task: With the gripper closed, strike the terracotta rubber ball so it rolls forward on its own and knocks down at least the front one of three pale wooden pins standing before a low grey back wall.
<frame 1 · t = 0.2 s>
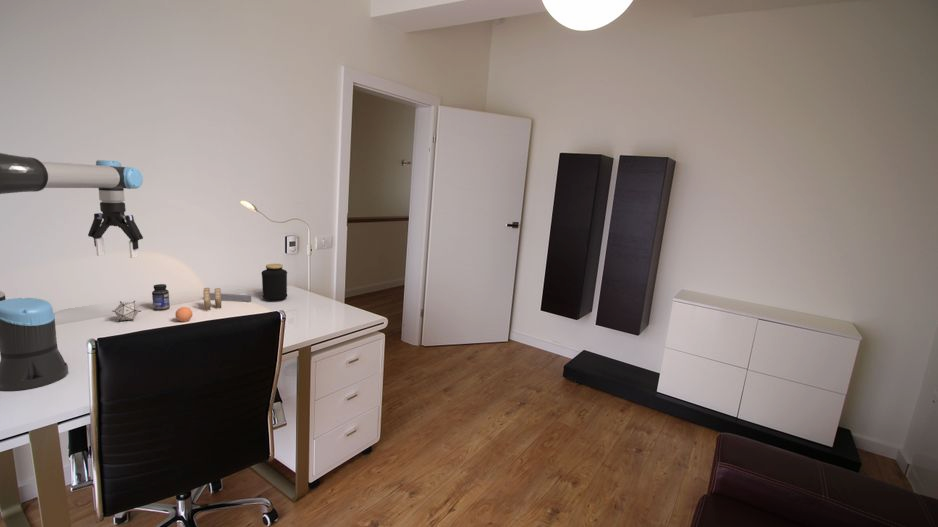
hand: (117, 256, 171), 28 cm above the table, tool pointing down, fingers open, 13 cm apart
game die: (127, 320, 180), on the table
pin right: (218, 307, 202), on the table
ball: (184, 314, 182), on the table
pill bottle: (161, 309, 196), on the table
pin front: (207, 310, 198), on the table
container: (275, 299, 221), on the table
back wall: (228, 300, 215), on the table
pin left: (207, 307, 202), on the table
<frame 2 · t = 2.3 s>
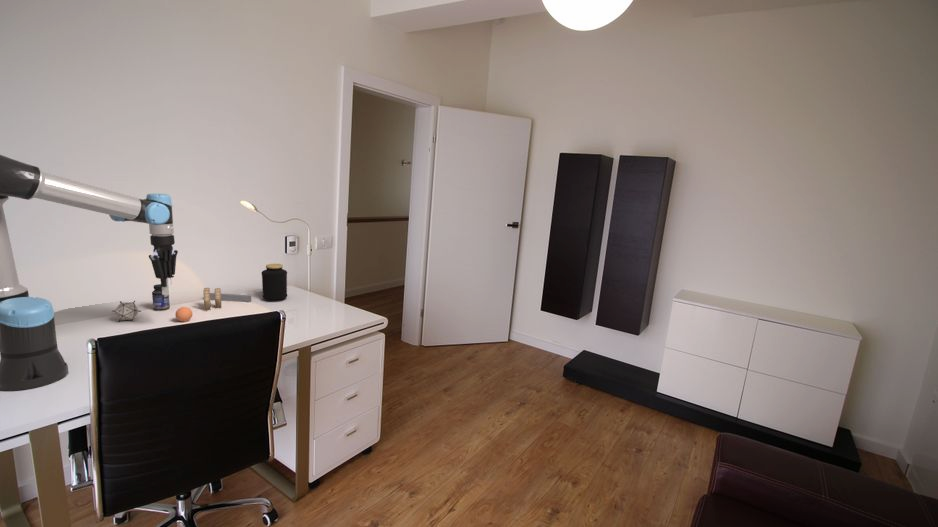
hand: (167, 294, 171), 14 cm above the table, tool pointing down, fingers closed
nothing on the table moved.
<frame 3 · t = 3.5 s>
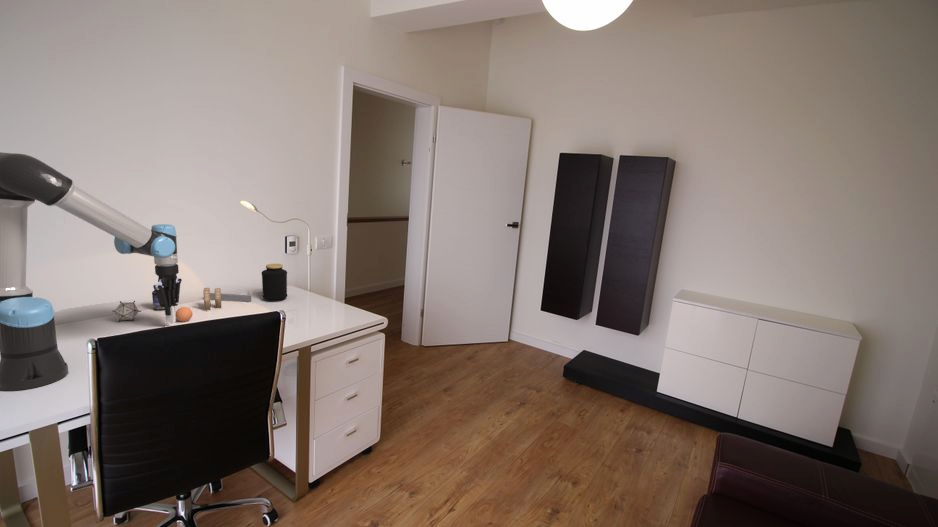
hand: (171, 322, 174), 2 cm above the table, tool pointing down, fingers closed
nothing on the table moved.
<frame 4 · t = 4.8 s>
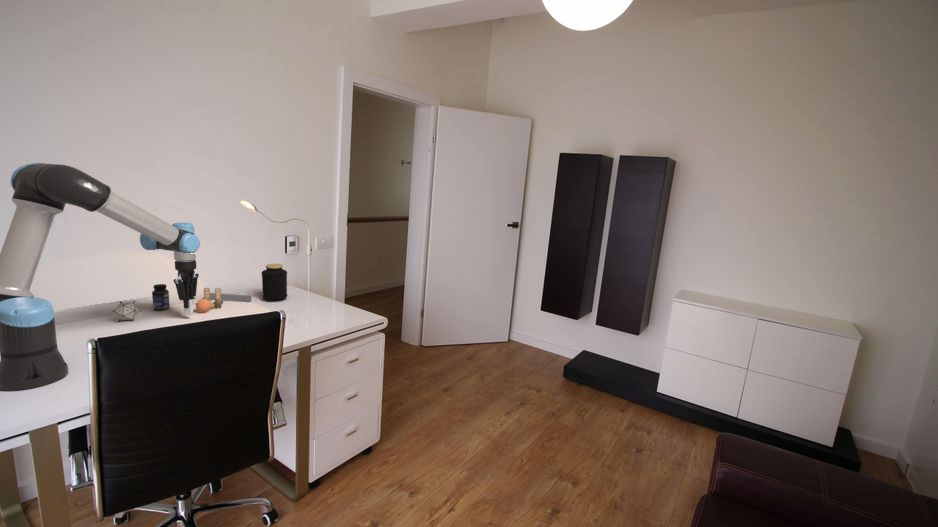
hand: (188, 314, 185), 2 cm above the table, tool pointing down, fingers closed
ball: (203, 305, 195), on the table
pin front: (210, 306, 200), point 1 cm above the table, tilted 90°
everything else where it was.
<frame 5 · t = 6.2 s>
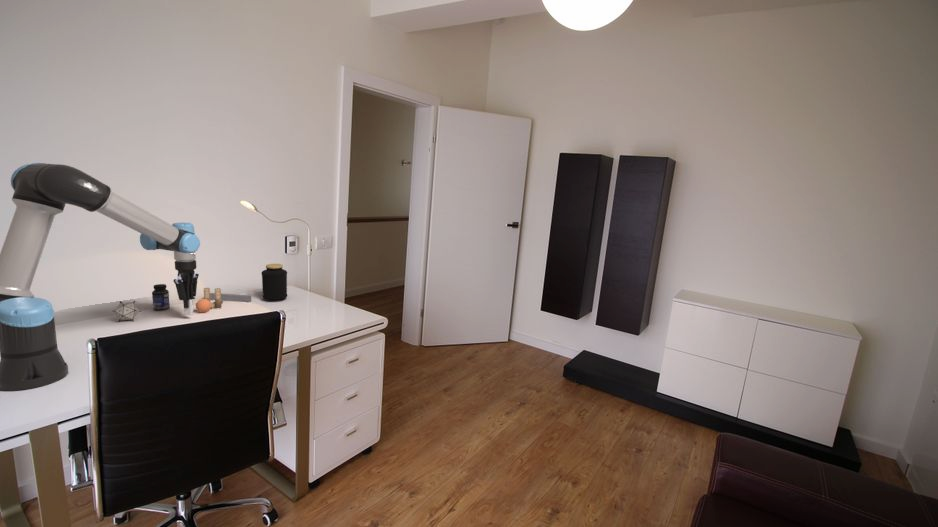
hand: (188, 314, 185), 2 cm above the table, tool pointing down, fingers closed
nothing on the table moved.
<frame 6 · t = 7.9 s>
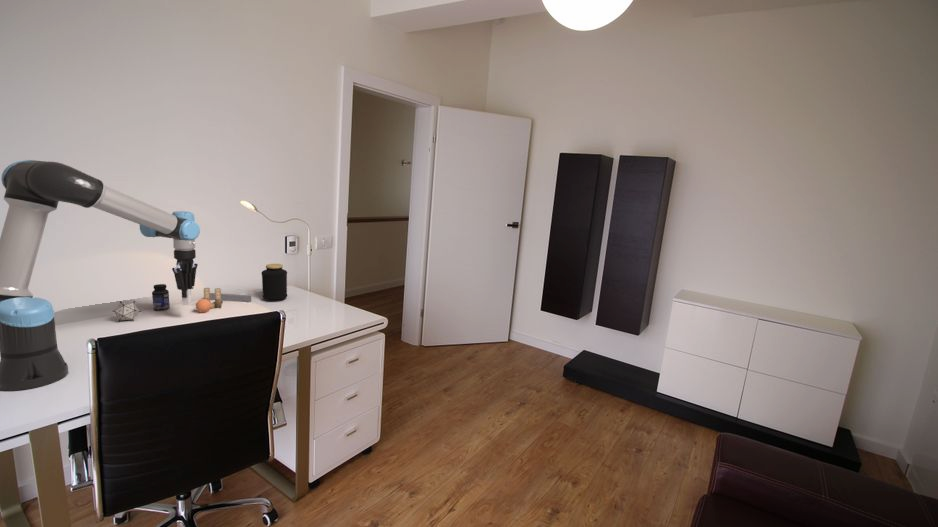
hand: (186, 304, 184), 7 cm above the table, tool pointing down, fingers closed
nothing on the table moved.
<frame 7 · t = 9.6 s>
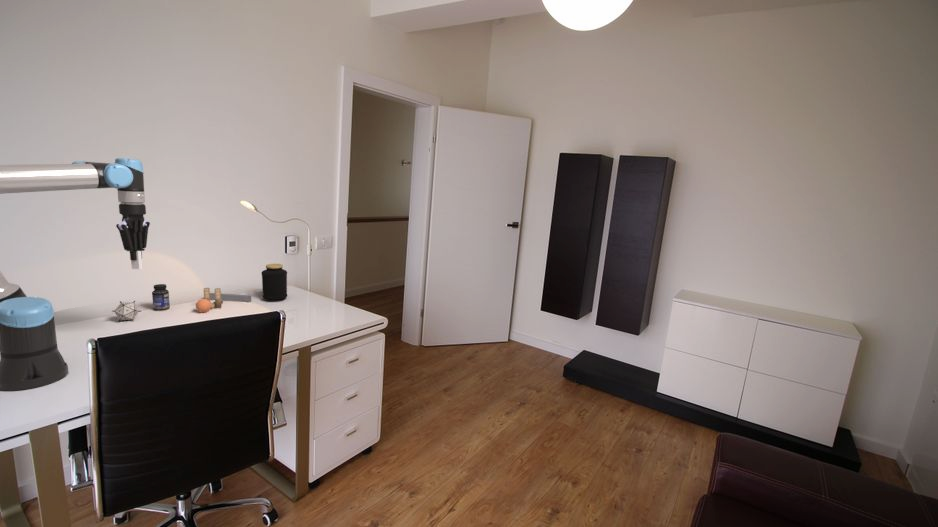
hand: (137, 268, 158), 26 cm above the table, tool pointing down, fingers closed
nothing on the table moved.
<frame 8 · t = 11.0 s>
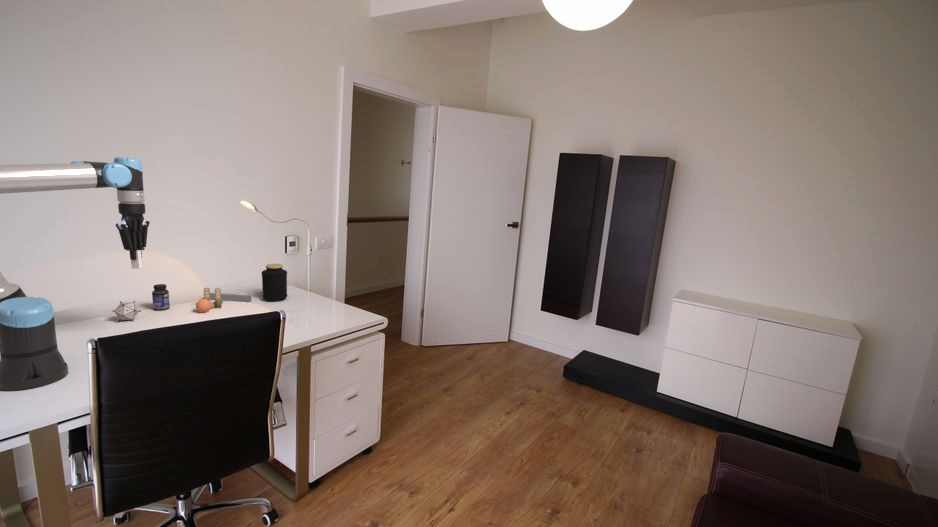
hand: (137, 268, 158), 26 cm above the table, tool pointing down, fingers closed
nothing on the table moved.
at the end: 1 of 3 knocked over (down: pin front; still standing: pin left, pin right); pin front never touched the robot; ball moved 13.1 cm from its start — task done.
